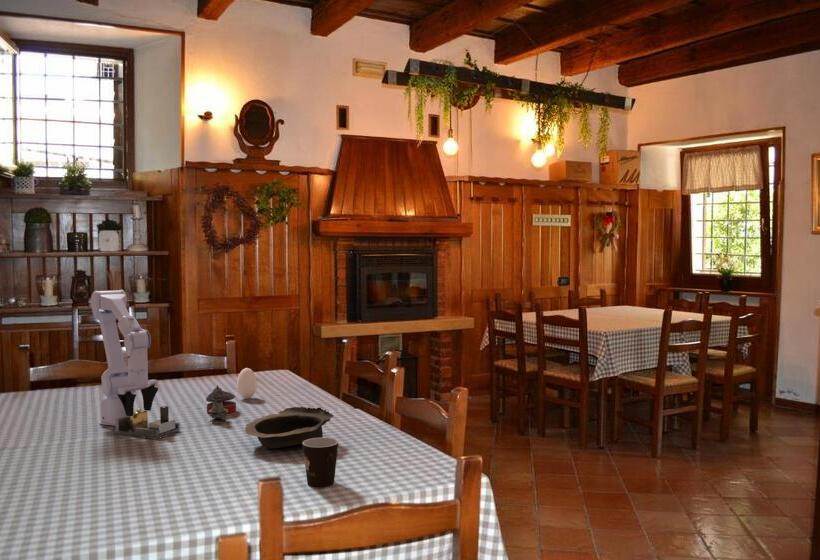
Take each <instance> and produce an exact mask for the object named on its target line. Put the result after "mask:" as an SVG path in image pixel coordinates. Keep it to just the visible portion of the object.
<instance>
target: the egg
mask: <svg viewBox="0 0 820 560" xmlns="http://www.w3.org/2000/svg"><path fill="white" fill-rule="evenodd" d="M257 389H258V381H257V377H256V374H255V373H254V370H252V369H251V368H248V367H245V368H243V369H242V370H241V371H240V373H239V374H238V377H237V380H236V390H237V392H238V394H239V396H241V398H242V399H245V400H249V399H251V398H253V396H254V395H255V394H256V392H257Z"/></svg>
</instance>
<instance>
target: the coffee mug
mask: <svg viewBox="0 0 820 560" xmlns="http://www.w3.org/2000/svg"><path fill="white" fill-rule="evenodd" d="M301 444H302V452H303V460H304V466H305V473H306V482H307V486H309V487H311V488H316V489H318V488H319V489H322V488H329V487H331V486H333V485H334V484H335V478H336V469H337V468H336V467H337V460H338V459H337V458H338V450H339V449H338V447H339V440H338V439H336V438H333V437H323V438H312V439H308V440H305V441H303V443H301Z"/></svg>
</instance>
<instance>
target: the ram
mask: <svg viewBox="0 0 820 560" xmlns="http://www.w3.org/2000/svg"><path fill="white" fill-rule="evenodd" d="M169 409H170V408H169V406H167V405H163V406H160V409H159V413H160V415H159V417H160V419H158V420H155V421H152V422H149V423H148V424H149V429H155V430H159V434H160V433H163V432H166V431H169V430H172V429H175V422H176V419H175V418H170V417H169V416H170V415H169Z"/></svg>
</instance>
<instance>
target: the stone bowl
mask: <svg viewBox="0 0 820 560" xmlns="http://www.w3.org/2000/svg"><path fill="white" fill-rule="evenodd" d="M332 418H334V414H332V413H330V412H329V411H327V410H326V409H323V408H322V407H316V408H315V407H314V408H313V407H309V406H308V407H303V406H293V407H287V408H285V409H284V410H281V411H279V412H278V413H271V414H267V415H265V416H262V417H259V418H256V419H254V420H252V421H250V422H249V423H247V424H246V425H245V428H244V432H245V433H246V434H247V435H249V436H252V437H256V438H257V440H258V441H259V443H260V444H261V446H262V447H263V448H264V449H266V450H270V449H280V448H284V447H289V446H296V445H300V444H302V443H303V441H305V440H308V439H312V438H324V437H323V436H324V435H323V434H324V433H323V425H326V424H327V423H328V422H330V421H331V419H332Z"/></svg>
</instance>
